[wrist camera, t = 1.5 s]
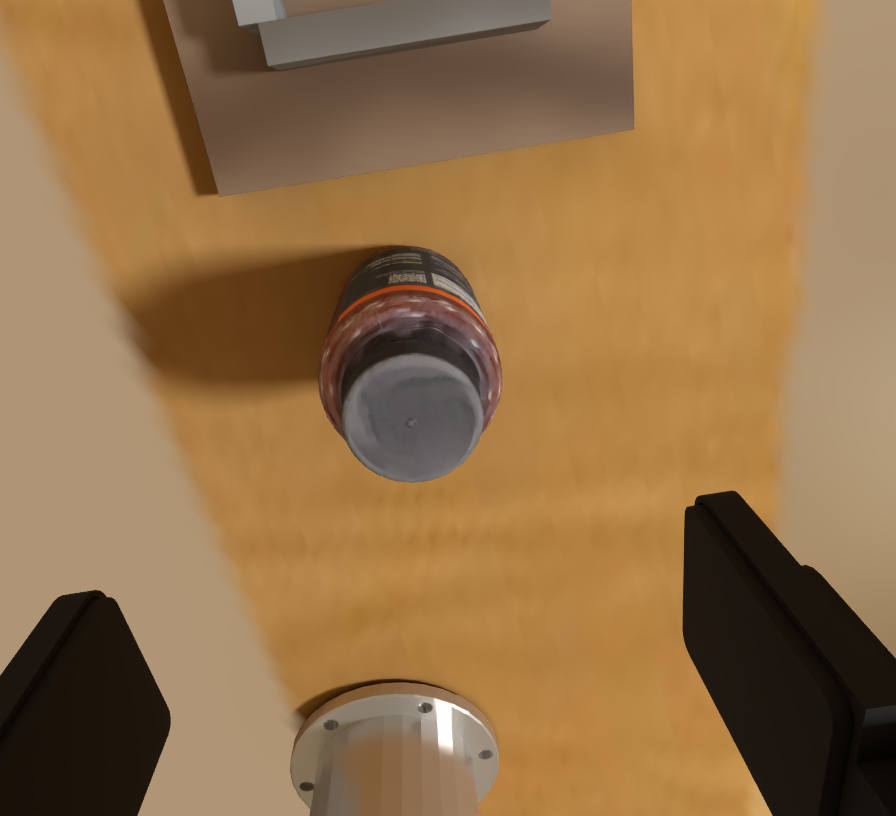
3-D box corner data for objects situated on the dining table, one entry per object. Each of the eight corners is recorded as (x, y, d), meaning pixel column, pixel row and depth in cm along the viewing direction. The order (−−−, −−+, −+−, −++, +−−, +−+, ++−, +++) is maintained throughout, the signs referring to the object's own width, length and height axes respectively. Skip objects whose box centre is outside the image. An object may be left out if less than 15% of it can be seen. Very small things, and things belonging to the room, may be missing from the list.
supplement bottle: (388, 397, 29) (378, 547, 19) (312, 289, 27) (254, 393, 17) (500, 332, 28) (553, 453, 18) (431, 214, 26) (447, 276, 16)
